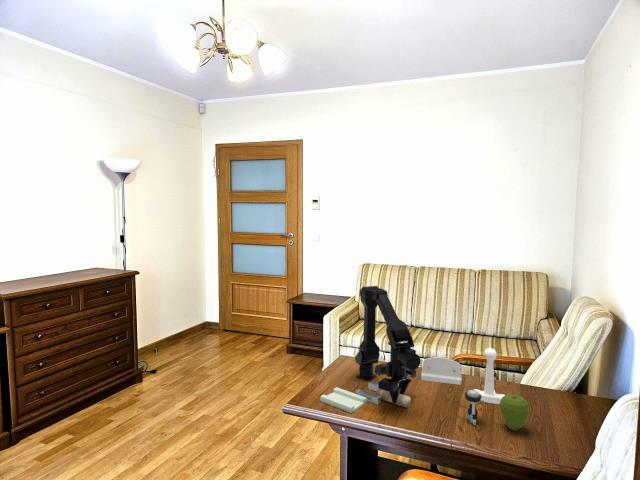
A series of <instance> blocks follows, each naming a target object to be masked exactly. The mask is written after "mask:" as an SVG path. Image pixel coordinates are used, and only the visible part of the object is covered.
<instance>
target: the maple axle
mask: <svg viewBox="0 0 640 480" xmlns="http://www.w3.org/2000/svg"><path fill="white" fill-rule="evenodd" d="M376 395H379V396H381V401H385V402H388V403H392V404H394V405H398V406H400V407H403V408H406V409H408V408H410V407H411V402H412V398H411V396H409V395H405V394H404V395H403V394H400V393H399V396H398V399H397V402H396V403H393V401H392V398H391V395H390V392H389V391H385V390H382V389H378V392H377V393H376Z"/></svg>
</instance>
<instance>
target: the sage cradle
mask: <svg viewBox="0 0 640 480" xmlns="http://www.w3.org/2000/svg"><path fill="white" fill-rule="evenodd" d="M319 399H320V403H323V404H326V405H328V406H331V407H334V408H336V409H339V410H341V411H344V412H347V413H350V414H352V413H354V412H355V411H357V410H358V409H360V408H361V407H363V406H364V405H365V404H367V403H368V401H367V398H366V397H363V396H360V395H357V394H356V393H354V392H351V391H349V390H346V389H343V388H339V387H334V388H333V391H332V392H331V393H329V394H322V395H321V396H320V398H319Z"/></svg>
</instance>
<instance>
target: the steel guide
mask: <svg viewBox="0 0 640 480" xmlns="http://www.w3.org/2000/svg"><path fill="white" fill-rule="evenodd" d="M367 386H368V387H367V388H368V390H371V391H373V392H378V389H379V388H378V382H374V381H372V380H371V381H370V380H369V382H368V383H367ZM355 394H357V395H360V396H363V397H366V398H367V402H370V403H371V404H375V405H377V406H378V405H380V404H381V403H382V399H381V396H379V395H377V393H376V394H375V393H372V392H370V391H366V390H364V389H362V388H361V389H360V388H357V389H355Z"/></svg>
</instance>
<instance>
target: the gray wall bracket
mask: <svg viewBox="0 0 640 480" xmlns="http://www.w3.org/2000/svg"><path fill="white" fill-rule="evenodd" d="M461 366H462V365H461V364H460V362H458V361H455V360H453V359H450V358H446V357H441V356H440V357H438V356H436V357H434V356H433V357H428V358H425V359H423V360H422V368H421V374H420V379H421V381H426V382H427V381H429V382H435V383H442V384H443V383H444V384H451V385H459V386H462V382H463V378H462V369H461V368H462V367H461Z"/></svg>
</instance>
